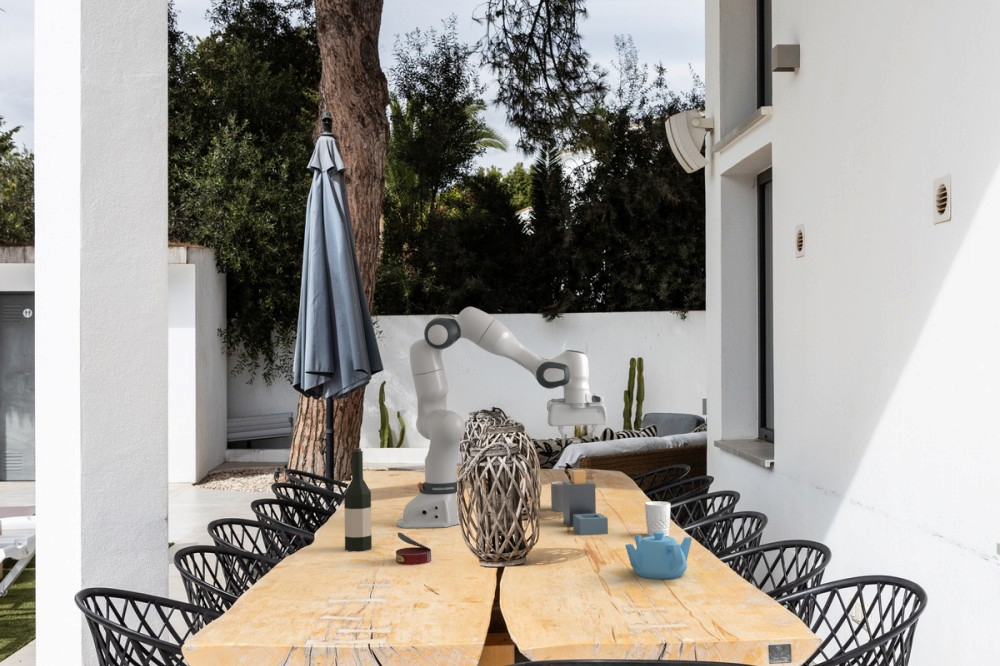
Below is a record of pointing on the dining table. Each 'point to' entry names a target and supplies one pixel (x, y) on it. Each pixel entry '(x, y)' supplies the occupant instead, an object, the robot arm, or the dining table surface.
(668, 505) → the white cup
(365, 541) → the wine bottle
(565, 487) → the upper socket
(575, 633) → the dining table surface
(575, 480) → the plug
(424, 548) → the canned food
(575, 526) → the lower socket
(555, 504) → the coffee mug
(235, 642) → the dining table surface
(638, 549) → the teapot
